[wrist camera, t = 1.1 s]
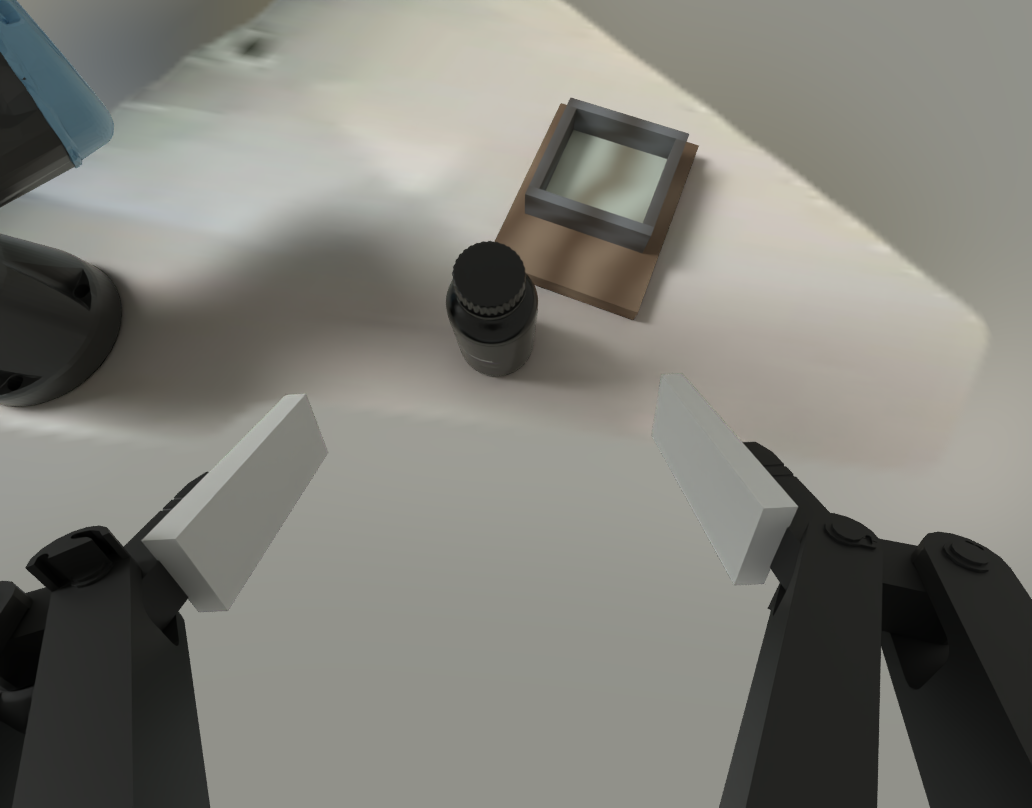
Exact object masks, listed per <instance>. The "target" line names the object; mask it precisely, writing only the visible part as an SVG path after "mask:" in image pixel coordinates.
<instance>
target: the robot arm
mask: <svg viewBox="0 0 1032 808" xmlns="http://www.w3.org/2000/svg"><path fill="white" fill-rule="evenodd" d="M113 131H114V123H113V120H112V117H111V115H110V113H109V111H108V110H107V109H106V107H105V106H104V104H103V103H102V102H101V100H100V99H99V98H98V97H97V95H96V94H95V93H94V91H93V90H92V89H91V88H90V87H89V85H88V84H87V83H86V82H85V80H84V79H83V78H82V77H81V76H80V74H79V73H78V72H77V71H76V69H75V68H74V67H73V66H72V65H71V64H70V62H69V61H68V60H67V59H66V58H65V56H64V55H63V54H62V53H61V52H60V51H59V49H58V48H57V47H56V46H55V45H54V43H53V42H52V41H51V40H50V39H49V37H48V36H47V35H46V34H45V33H44V32H43V30H42V29H41V28H40V27H39V26H38V25H37V23H36V22H35V21H34V20H33V19H32V18H31V17H30V15H29V14H28V13H27V12H26V11H25V10H24V9H23V7H22V6H21V5H20V4H19V3H18V2H17V0H0V207H2V206H4V205H6V204H8V203H9V202H11V201H13V200H15V199H17V198H19V197H20V196H22V195H24V194H26V193H28V192H29V191H31V190H33V189H35V188H37V187H39V186H40V185H42V184H44V183H46V182H48V181H49V180H51V179H53V178H55V177H57V176H59V175H60V174H62V173H64V172H66V171H68V170H69V169H71V168H73V167H75V168H78V167H80V165H82V160H83V159H84V158H86V157H87V156H89V155H90V154H92V153H93V152H95V151H96V150H98V149H99V148H100V147H102V146H103V145H105V144H106V143H108V142H109V141H110V139H111V138H112V136H113ZM120 322H121V302H120V298H119V294H118V292H117V289H116V287H115V285H114V284H113V282H112V281H111V280H110V278H109V277H108V276H107V275H106V274H105V273H103V272H102V271H101V270H99V269H98V268H96V267H94V266H93V265H91V264H89V263H87V262H85V261H83V260H82V259H80V258H78V257H76V256H74V255H72V254H70V253H67V252H65V251H62V250H59V249H56V248H52V247H48V246H45V245H41V244H37V243H33V242H29V241H26V240H22V239H18V238H14V237H11V236H7V235H3V234H0V405H6V406H29V405H35V404H39V403H43V402H46V401H49V400H52V399H55V398H57V397H59V396H61V395H63V394H65V393H67V392H69V391H70V390H72V389H74V388H75V387H77V386H78V385H79V384H81V383H82V382H83V381H85V380H86V379H87V378H88V377H89V376H90V375H91V374H92V373H93V372H94V371H95V370H96V369H97V368H98V367H99V366H100V365H101V363H102V362H103V361H104V359H105V358H106V357H107V355H108V353H109V352H110V350H111V348H112V346H113V344H114V342H115V340H116V337H117V335H118V331H119V327H120ZM652 437H653V439H654V441H655V443H656V444H657V446H658V448H659V450H660V452H661V454H662V455H663V457H664V459H665V461H666V463H667V464H668V466H669V468H670V470H671V472H672V474H673V475H674V477H675V479H676V481H677V483H678V484H679V486H680V488H681V490H682V492H683V494H684V495H685V497H686V499H687V501H688V503H689V504H690V506H691V508H692V510H693V512H694V513H695V515H696V517H697V519H698V521H699V523H700V524H701V526H702V528H703V530H704V532H705V533H706V535H707V537H708V539H709V541H710V543H711V544H712V546H713V548H714V550H715V552H716V553H717V555H718V557H719V559H720V561H721V563H722V564H723V566H724V568H725V570H726V572H727V573H728V575H729V577H730V579H731V581H732V583H733V584H734V585H751V584H764V582H765V580H766V578H767V575H768V573H769V571H770V569H771V570H772V571H773V573H774V574H775V576H776V577H777V579H778V580H779V582H780V584H779V586H778V588H777V590H776V592H775V594H774V596H773V598H772V600H771V603H770V605H769V607H768V609H770V610H771V612H770V616H769V620H768V624H767V628H766V632H765V635H764V639H763V643H762V647H761V650H760V654H759V658H758V662H757V665H756V669H755V673H754V677H753V681H752V684H751V688H750V692H749V696H748V700H747V703H746V708H745V711H744V715H743V719H742V723H741V726H740V730H739V734H738V738H737V742H736V745H735V749H734V753H733V757H732V761H731V764H730V768H729V772H728V776H727V780H726V783H725V787H724V791H723V795H722V799H721V802H720V806H719V808H877V791H878V747H879V706H880V705H879V703H880V662H881V647H882V650H883V654H884V657H885V660H886V663H887V667H888V670H889V673H890V676H891V680H892V683H893V686H894V690H895V693H896V696H897V699H898V703H899V706H900V710H901V713H902V716H903V719H904V723H905V726H906V729H907V732H908V736H909V739H910V743H911V746H912V749H913V752H914V756H915V759H916V762H917V766H918V769H919V772H920V775H921V778H922V782H923V785H924V789H925V792H926V795H927V799H928V802H929V805H930V808H1032V599H1031V598H1030V596H1029V595H1028V593H1027V592H1026V590H1025V589H1024V587H1023V586H1022V584H1021V583H1020V581H1019V580H1018V578H1017V577H1016V575H1015V574H1014V572H1013V571H1012V569H1011V568H1010V567H1009V566H1008V565H1007V564H1006V563H1005V562H1004V561H1003V559H1002V558H1000V557H999V556H998V555H996V554H995V553H993V552H992V551H991V550H989V549H988V548H986V547H984V546H982V545H981V544H979V543H976V542H975V541H972V540H970V539H968V538H964V537H961V536H958V535H955V534H951V533H944V532H934V533H928V534H927V535H926V536H925V537H924V538H923V540H922V541H921V542H920V544H919V545H918V546H915V545H909V544H905V543H899V542H893V541H889V540H883V539H879V538H878V537H877V536H876V535H875V534H874V533H873V532H872V531H871V530H870V529H868V528H867V527H865V526H864V525H863V524H861V523H859V522H857V521H855V520H853V519H851V518H848V517H846V516H842V515H838V514H835V513H830V512H829V511H828V510H827V509H826V508H825V507H824V506H823V505H822V504H821V503H820V502H819V501H818V499H817V498H816V497H815V496H814V495H813V494H812V493H811V492H810V491H809V490H808V489H807V488H806V487H805V486H804V485H803V484H802V483H801V482H800V481H799V479H797V477H794V476H793V473H792V472H791V471H790V470H789V469H788V468H787V467H784V464H783V463H782V462H781V460H780V459H779V458H778V457H777V456H776V455H775V454H774V453H773V452H772V451H770V450H768V449H767V448H765V447H763V446H762V445H760V444H758V443H757V442H742V441H741V440H740V439H739V438H738V437H737V436H736V435H735V433H734V432H733V431H732V430H731V429H730V428H729V427H728V425H727V424H726V423H725V422H724V421H723V420H722V418H721V417H720V416H719V415H718V414H717V413H716V412H715V410H714V409H713V408H712V407H711V406H710V405H709V404H708V402H707V401H706V400H705V399H704V398H703V397H702V395H701V394H700V393H699V392H698V391H697V390H696V389H695V387H694V386H693V385H692V384H691V383H690V382H689V381H688V379H687V378H686V377H685V376H684V375H683V374H682V373H676V374H661V379H660V385H659V391H658V398H657V404H656V410H655V417H654V423H653V429H652ZM327 453H328V451H327V448H326V445H325V443H324V440H323V437H322V435H321V432H320V430H319V427H318V424H317V421H316V419H315V416H314V413H313V411H312V408H311V405H310V403H309V400H308V397H307V395H306V394H289V395H285V396H284V397H283V398H282V399H281V400H280V401H279V402H278V403H277V404H276V405H275V406H274V407H273V408H272V409H271V410H270V411H269V412H268V413H267V414H266V415H265V416H264V417H263V418H262V419H261V420H260V421H259V422H258V423H257V424H256V425H255V426H254V427H253V428H252V429H251V430H250V431H249V432H248V433H247V434H246V435H245V436H244V437H243V438H242V439H241V440H240V441H239V442H238V443H237V444H236V445H235V446H234V447H233V448H232V449H231V450H230V451H229V452H228V453H227V454H226V455H225V457H224V458H222V459H221V461H220V462H219V463H218V464H217V465H216V466H215V467H214V468H213V469H212V470H211V471H210V472H206V473H204V474H202V475H201V476H199V477H198V478H196V479H195V480H193V481H191V482H190V483H188V484H187V485H186V486H185V487H184V488H183V489H182V490H181V491H180V492H179V493H178V494H177V495H176V496H175V497H174V500H171V501H170V502H169V503H168V504H167V505H166V506H165V507H164V508H163V511H160V512H159V513H158V514H157V515H156V516H155V517H154V518H152V519H151V520H150V521H149V522H148V523H147V524H146V525H145V526H144V527H143V528H142V529H141V530H140V531H139V532H138V533H137V534H136V535H135V536H134V537H133V538H132V539H131V540H130V541H129V542H128V543H127V544H126V545H125V546H124V547H123V546H122V545H121V544H120V542H119V541H118V540H117V539H116V538H115V536H114V535H113V534H112V533H111V532H110V531H109V529H108V528H107V527H103V526H92V527H86V528H83V529H80V530H77V531H74V532H71V533H69V534H67V535H65V536H63V537H61V538H58V539H56V540H55V541H53V542H52V543H50V544H49V545H47V546H46V547H44V548H43V549H41V550H40V551H39V552H38V553H37V554H36V555H35V556H33V557H32V558H31V559H30V561H29V563H28V564H27V566H26V569H27V570H28V571H29V572H30V573H31V574H32V575H34V576H35V577H36V578H37V579H38V580H39V581H40V582H41V583H42V584H43V585H44V586H46V587H45V588H42V589H38V590H35V591H31V592H28V593H24V592H23V591H22V590H21V589H20V588H19V587H18V586H16V585H15V584H14V583H13V582H9V581H0V808H210V802H209V796H208V789H207V781H206V773H205V766H204V759H203V753H202V745H201V737H200V730H199V723H198V716H197V709H196V701H195V694H194V687H193V680H192V673H191V665H190V658H189V651H188V643H187V636H186V629H185V622H184V619H183V617H182V616H181V614H180V613H179V612H178V611H179V610H180V608H181V607H182V606H183V604H184V603H185V602H186V600H187V599H189V601H190V602H191V603H192V604H193V605H194V607H195V608H196V609H197V611H198V612H214V611H228V610H229V609H230V607H231V606H232V604H233V602H234V601H235V599H236V597H237V596H238V594H239V593H240V591H241V590H242V588H243V587H244V585H245V583H246V582H247V580H248V578H249V577H250V576H251V574H252V572H253V571H254V569H255V567H256V566H257V564H258V563H259V561H260V560H261V558H262V557H263V555H264V553H265V552H266V550H267V549H268V547H269V545H270V544H271V542H272V541H273V539H274V538H275V536H276V534H277V533H278V531H279V530H280V528H281V527H282V525H283V523H284V522H285V520H286V519H287V517H288V515H289V514H290V512H291V511H292V509H293V508H294V506H295V504H296V503H297V501H298V500H299V498H300V496H301V495H302V493H303V492H304V490H305V489H306V487H307V485H308V484H309V482H310V481H311V479H312V477H313V476H314V474H315V473H316V471H317V470H318V468H319V466H320V465H321V463H322V462H323V460H324V459H325V457H326V455H327Z"/></svg>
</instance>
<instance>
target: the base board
mask: <svg viewBox="0 0 1032 808" xmlns="http://www.w3.org/2000/svg"><path fill="white" fill-rule="evenodd" d="M688 136H689V134H688V133H685V132H682V131H678V130H675V129H672V128H668V127H665V126H662V125H659V124H655V123H652V122H649V121H646V120H642V119H639V118H636V117H633V116H629V115H626V114H623V113H619V112H616V111H613V110H610V109H606V108H603V107H600V106H597V105H593V104H590V103H587V102H584V101H580V100H577V99H574V98H570V100H569V102H568V104H567V105H565V104H562V103H561V104H560V106H559V108H558V110H557V112H556V114H555V117H554V119H553V121H552V123H551V125H550V127H549V129H548V131H547V133H546V135H545V137H544V140H543V142H542V144H541V146H540V148H539V150H538V152H537V154H536V156H535V158H534V160H533V163H532V165H531V167H530V169H529V171H528V173H527V175H526V177H525V179H524V181H523V183H522V186H521V188H520V190H519V192H518V194H517V196H516V198H515V200H514V202H513V204H512V206H511V209H510V211H509V213H508V215H507V217H506V219H505V221H504V223H503V225H502V227H501V229H500V232H499V234H498V236H497V238H496V240H495V242H499V243H500V244H505V245H506V246H509V247H510V248H511V249H512V250H514V251H516V253H517V254H518V255H519V256H520V259H521V260H522V261H523V265H524V267H525V272H526V273H527V274H528V276H529V277H530V278H531V280H532V281H533V283H534V285H537V286H540V287H542V288H545V289H548V290H551V291H553V292H556V293H559V294H562V295H565V296H567V297H570V298H573V299H576V300H579V301H581V302H584V303H587V304H590V305H592V306H595V307H598V308H601V309H604V310H606V311H609V312H612V313H615V314H617V315H620V316H623V317H626V318H629V319H631V320H633V319H634V318H635V316H636V315H637V313H638V311H639V308H640V305H641V303H642V300H643V297H644V294H645V292H646V289H647V286H648V283H649V281H650V278H651V275H652V272H653V270H654V267H655V264H656V261H657V259H658V256H659V253H660V251H661V248H662V245H663V242H664V240H665V237H666V234H667V231H668V229H669V226H670V223H671V220H672V218H673V215H674V212H675V209H676V207H677V204H678V201H679V199H680V196H681V193H682V190H683V188H684V185H685V182H686V179H687V177H688V174H689V171H690V168H691V166H692V163H693V160H694V157H695V155H696V152H697V149H698V147H699V146H698V145H695V144H692V143H688V142H686V141H687V139H688Z"/></svg>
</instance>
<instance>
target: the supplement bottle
mask: <svg viewBox="0 0 1032 808" xmlns="http://www.w3.org/2000/svg"><path fill="white" fill-rule="evenodd" d="M452 276H453V280H452V282H451V284H450V286H449V288H448V291H447V296H446V309H447V313H448V317H449V320H450V323H451V325H452V328H453V331H454V334H455V336H456V339H457V342H458V344H459V347H460V350H461V352H462V354H463V356H464V358H465V360H466V361H467V363H468V364H469V365H470V366H471V367H472V368H474V369H475V370H476V371H478V372H480V373H483V374H485V375H490V376H503V375H507V374H510V373H512V372H514V371H516V370H518V369H519V368H520V367H522V366H523V365H524V364H525V362H526V361H527V359H528V358H529V356H530V354H531V351H532V347H533V342H534V334H535V326H536V319H537V311H538V296H537V291H536V288H535V285H534V283H533V281H532V280H531V278H530V277H529V276H528V274H527V273H526V272H525V267H524V265H523V261H522V260H521V259H520V256H519V255H518V254H517V253H516V251H514V250H512V249H511V248H510V247H509V246H506V245H505V244H500V243H499V242H492V241H488V242H481V243H476V244H475V245H473V246H470V247H469V248H468V249H465V250H464V251H463V253H462V254H460V255H459V258H458V259H457V260H456V263H455V265H454V266H453V272H452Z"/></svg>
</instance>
